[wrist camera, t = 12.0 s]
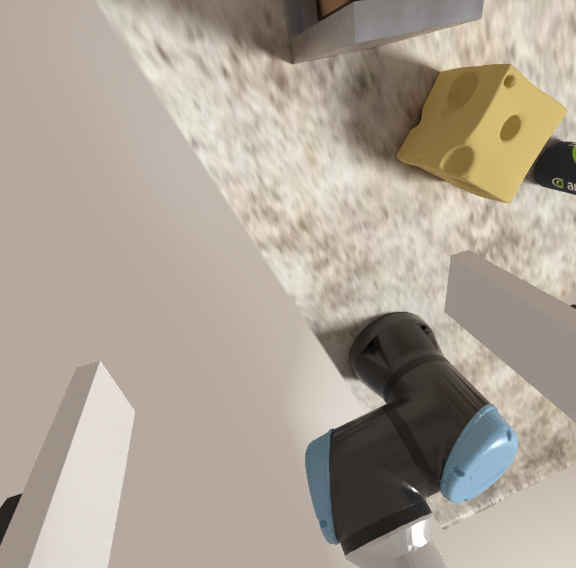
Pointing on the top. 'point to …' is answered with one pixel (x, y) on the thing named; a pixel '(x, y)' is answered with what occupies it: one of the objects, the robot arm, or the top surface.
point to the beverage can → (558, 168)
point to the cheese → (482, 129)
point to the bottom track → (369, 24)
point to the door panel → (330, 7)
